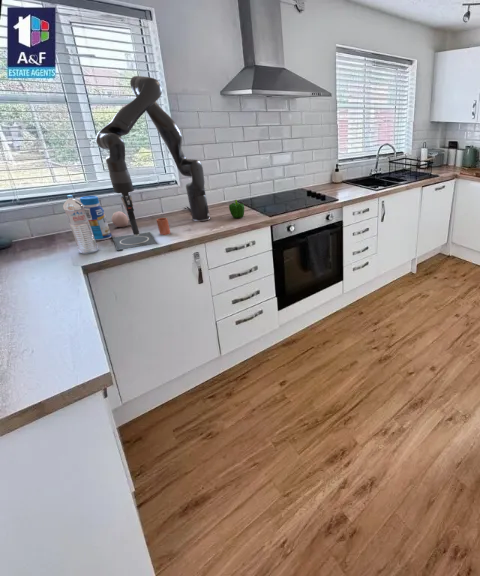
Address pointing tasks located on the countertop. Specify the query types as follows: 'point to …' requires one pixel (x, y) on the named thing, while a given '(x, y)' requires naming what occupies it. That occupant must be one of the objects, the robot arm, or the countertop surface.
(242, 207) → the bell pepper
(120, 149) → the robot arm
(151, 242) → the slate board
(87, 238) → the water bottle
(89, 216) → the blue lidded canister
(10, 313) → the countertop surface
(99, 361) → the countertop surface
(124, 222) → the egg
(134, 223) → the marker
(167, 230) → the pen pot
